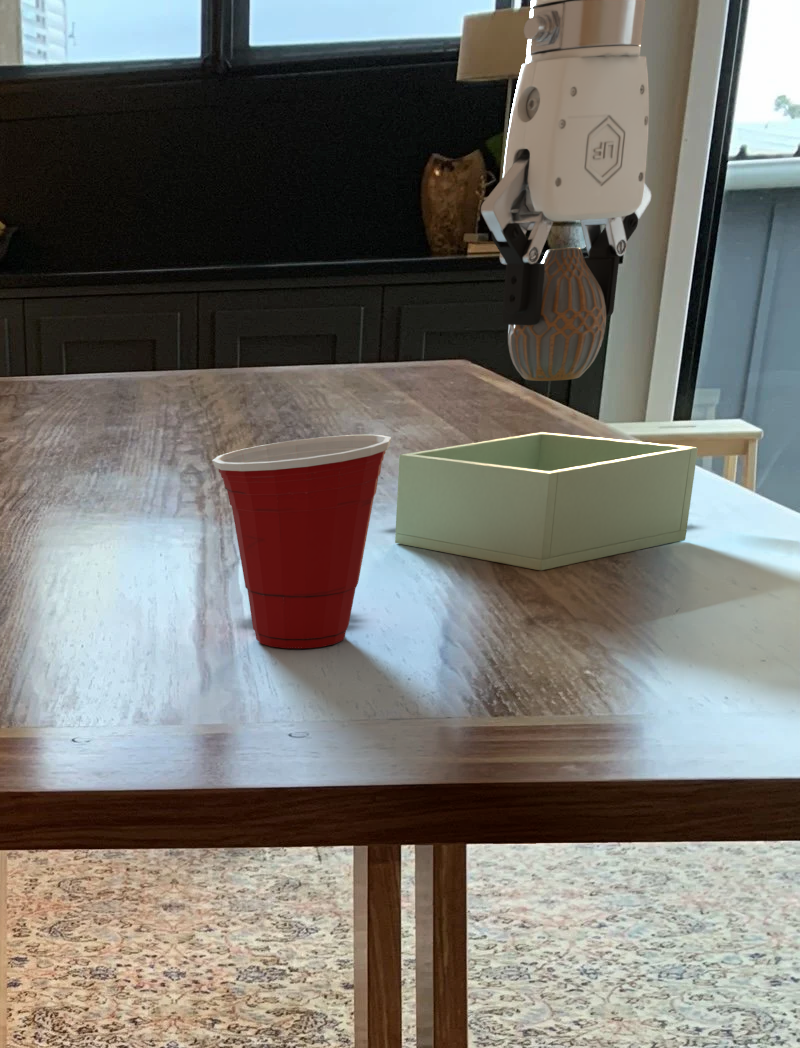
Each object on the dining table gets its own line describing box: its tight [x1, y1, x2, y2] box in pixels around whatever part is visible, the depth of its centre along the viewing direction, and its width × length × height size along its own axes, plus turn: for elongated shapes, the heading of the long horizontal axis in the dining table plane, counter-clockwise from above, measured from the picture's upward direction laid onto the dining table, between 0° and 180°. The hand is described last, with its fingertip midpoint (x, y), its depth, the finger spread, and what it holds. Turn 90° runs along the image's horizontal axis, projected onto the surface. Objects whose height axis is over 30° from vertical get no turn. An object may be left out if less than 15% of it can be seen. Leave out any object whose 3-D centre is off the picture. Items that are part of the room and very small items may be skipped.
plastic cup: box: [211, 434, 392, 650], centre depth 96 cm, size 11×11×12 cm
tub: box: [394, 431, 699, 572], centre depth 119 cm, size 16×16×7 cm
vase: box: [507, 247, 607, 382], centre depth 113 cm, size 7×7×9 cm
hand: (557, 317), depth 113 cm, fingers closed on vase, 6 cm apart
